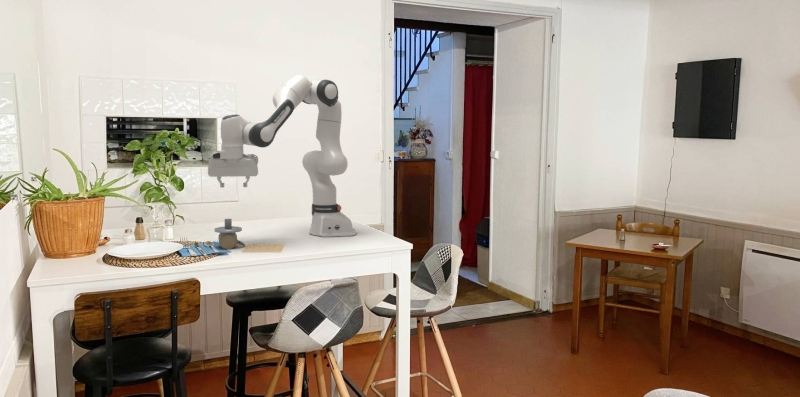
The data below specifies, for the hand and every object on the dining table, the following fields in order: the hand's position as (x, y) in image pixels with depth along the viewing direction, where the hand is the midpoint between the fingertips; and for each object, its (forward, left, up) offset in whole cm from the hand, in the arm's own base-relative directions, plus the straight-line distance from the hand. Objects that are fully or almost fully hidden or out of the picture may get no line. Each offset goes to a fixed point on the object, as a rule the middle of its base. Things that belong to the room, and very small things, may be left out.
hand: (233, 187), depth 257 cm
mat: (-13, +7, -25) cm, 29 cm away
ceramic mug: (+1, +4, -25) cm, 26 cm away
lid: (+2, +5, -18) cm, 18 cm away
